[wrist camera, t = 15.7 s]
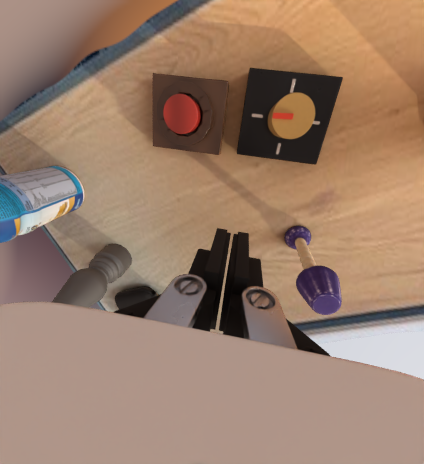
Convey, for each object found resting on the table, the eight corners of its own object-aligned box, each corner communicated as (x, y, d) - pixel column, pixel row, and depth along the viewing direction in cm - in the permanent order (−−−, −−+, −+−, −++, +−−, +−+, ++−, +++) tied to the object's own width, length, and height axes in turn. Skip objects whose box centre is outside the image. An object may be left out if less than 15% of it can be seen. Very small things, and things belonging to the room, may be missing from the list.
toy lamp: (279, 246, 39) (300, 320, 24) (283, 222, 37) (307, 285, 22) (308, 248, 38) (347, 325, 23) (313, 223, 36) (359, 289, 21)
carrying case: (184, 330, 51) (157, 280, 46) (180, 341, 48) (151, 289, 43) (145, 336, 54) (115, 289, 49) (139, 347, 51) (108, 299, 46)
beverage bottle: (84, 168, 38) (-64, 203, 20) (89, 213, 41) (-31, 277, 23) (38, 160, 38) (-144, 188, 20) (48, 206, 42) (-100, 263, 24)
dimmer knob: (306, 100, 27) (321, 92, 22) (298, 138, 29) (310, 140, 24) (270, 98, 28) (276, 91, 22) (265, 136, 29) (269, 137, 24)
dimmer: (335, 81, 28) (343, 76, 26) (311, 162, 32) (316, 164, 30) (249, 72, 29) (249, 67, 26) (237, 152, 33) (236, 154, 31)
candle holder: (121, 240, 43) (-16, 360, 20) (137, 265, 45) (28, 400, 23) (97, 248, 45) (-55, 367, 22) (113, 272, 47) (-11, 404, 24)
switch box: (229, 84, 30) (226, 77, 26) (220, 153, 34) (217, 156, 30) (158, 76, 30) (146, 69, 27) (157, 145, 34) (147, 147, 31)
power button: (202, 97, 28) (199, 95, 26) (199, 135, 30) (196, 136, 28) (168, 94, 28) (163, 91, 26) (167, 131, 30) (162, 131, 28)
